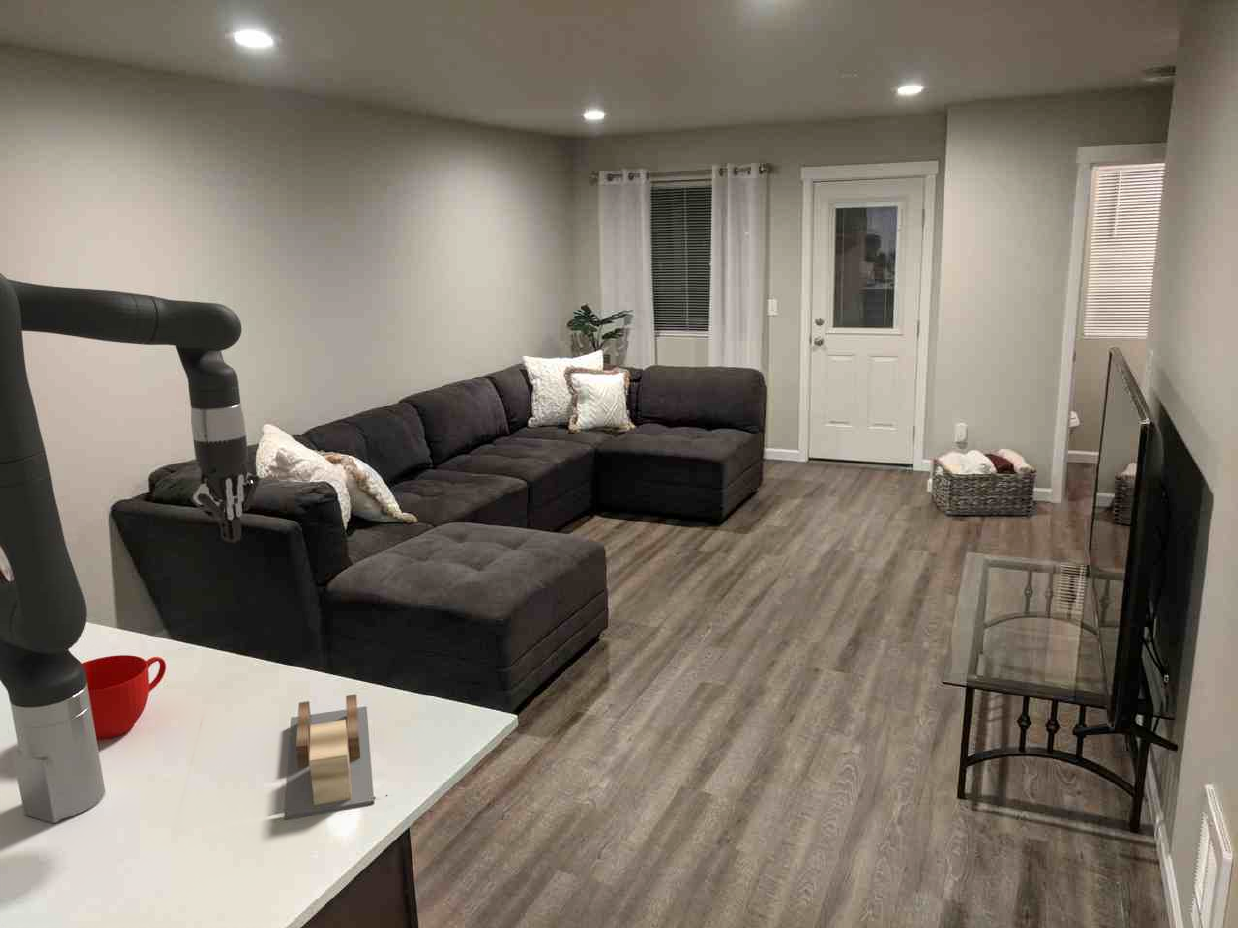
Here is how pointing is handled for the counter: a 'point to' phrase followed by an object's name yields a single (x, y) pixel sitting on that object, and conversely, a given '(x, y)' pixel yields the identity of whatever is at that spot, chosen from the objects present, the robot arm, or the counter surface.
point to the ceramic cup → (119, 691)
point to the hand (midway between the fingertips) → (232, 540)
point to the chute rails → (305, 728)
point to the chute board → (301, 781)
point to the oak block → (330, 762)
